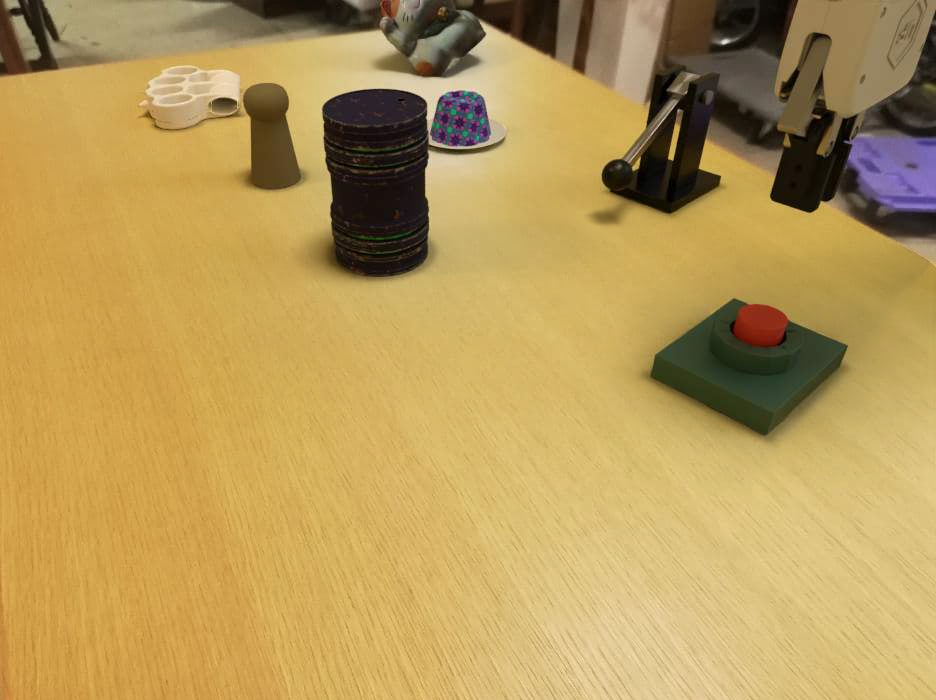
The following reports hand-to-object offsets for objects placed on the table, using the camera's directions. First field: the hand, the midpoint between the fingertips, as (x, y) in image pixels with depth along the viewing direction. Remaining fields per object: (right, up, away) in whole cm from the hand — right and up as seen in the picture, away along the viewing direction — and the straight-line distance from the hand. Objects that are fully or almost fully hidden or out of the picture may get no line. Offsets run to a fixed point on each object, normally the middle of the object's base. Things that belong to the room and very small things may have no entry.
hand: (801, 198), depth 54 cm
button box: (0, -12, +10) cm, 15 cm away
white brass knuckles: (-58, +30, +62) cm, 90 cm away
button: (0, -9, +7) cm, 11 cm away
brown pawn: (-43, +13, +42) cm, 61 cm away
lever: (-1, +14, +30) cm, 33 cm away
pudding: (-19, +21, +50) cm, 58 cm away
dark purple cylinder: (-30, +1, +27) cm, 40 cm away
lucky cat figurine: (-22, +41, +74) cm, 88 cm away
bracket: (+3, +11, +36) cm, 38 cm away
